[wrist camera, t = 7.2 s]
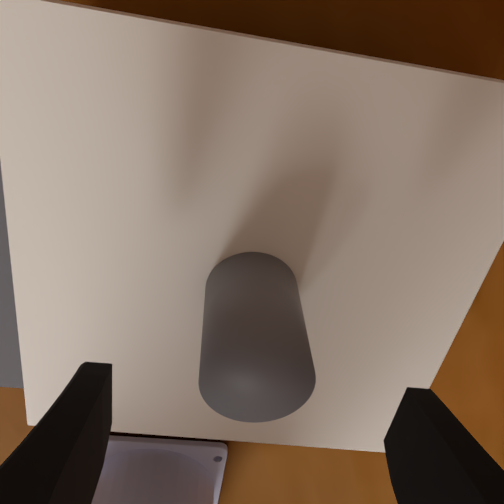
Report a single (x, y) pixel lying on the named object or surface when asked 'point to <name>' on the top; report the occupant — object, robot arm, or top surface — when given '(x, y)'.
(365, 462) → the top surface
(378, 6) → the top surface
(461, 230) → the lid
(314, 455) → the top surface
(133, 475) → the robot arm
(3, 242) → the mat
